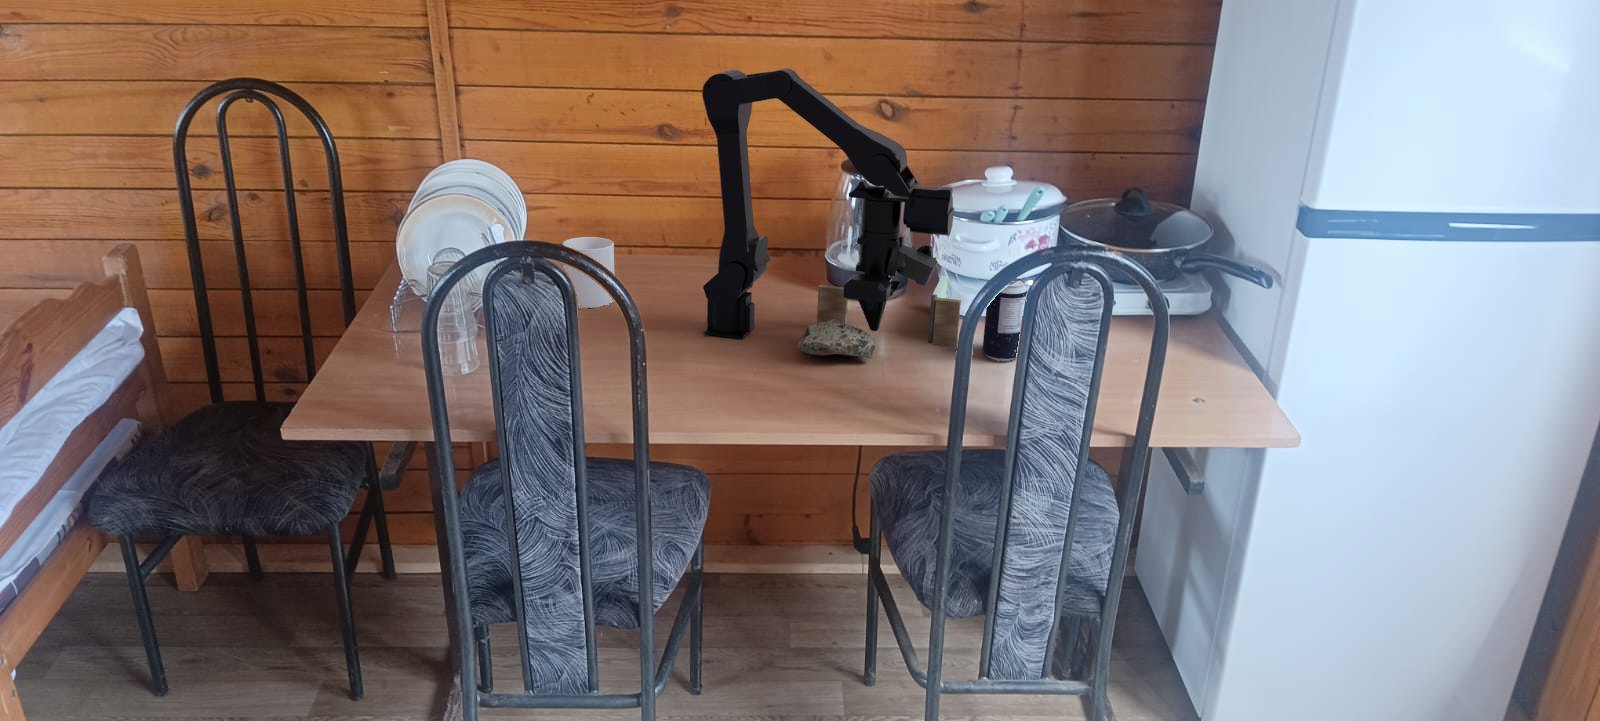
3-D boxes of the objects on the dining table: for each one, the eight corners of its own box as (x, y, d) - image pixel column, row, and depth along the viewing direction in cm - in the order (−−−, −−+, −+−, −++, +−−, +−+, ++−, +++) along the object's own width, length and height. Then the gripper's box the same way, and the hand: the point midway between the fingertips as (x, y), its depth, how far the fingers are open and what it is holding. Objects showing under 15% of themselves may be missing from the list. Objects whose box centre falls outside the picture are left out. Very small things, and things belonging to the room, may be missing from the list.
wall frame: (816, 332, 181) (818, 283, 178) (818, 330, 182) (820, 281, 179) (955, 349, 176) (960, 299, 173) (956, 346, 177) (961, 297, 174)
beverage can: (1022, 354, 175) (1030, 278, 171) (1016, 366, 170) (1025, 288, 166) (985, 349, 176) (992, 273, 172) (978, 360, 171) (985, 283, 167)
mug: (580, 288, 199) (579, 230, 196) (627, 292, 198) (626, 233, 195) (557, 308, 188) (555, 247, 184) (606, 312, 187) (605, 251, 183)
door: (938, 316, 189) (941, 275, 187) (944, 317, 189) (948, 276, 187) (928, 339, 178) (931, 296, 176) (934, 340, 178) (938, 297, 176)
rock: (866, 367, 164) (867, 338, 163) (792, 360, 167) (792, 332, 166) (882, 346, 174) (882, 319, 173) (811, 341, 177) (811, 314, 176)
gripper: (924, 249, 158) (916, 356, 163) (944, 220, 175) (936, 318, 180) (845, 241, 161) (840, 346, 166) (873, 214, 178) (867, 310, 183)
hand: (874, 330), depth 174 cm, fingers closed
